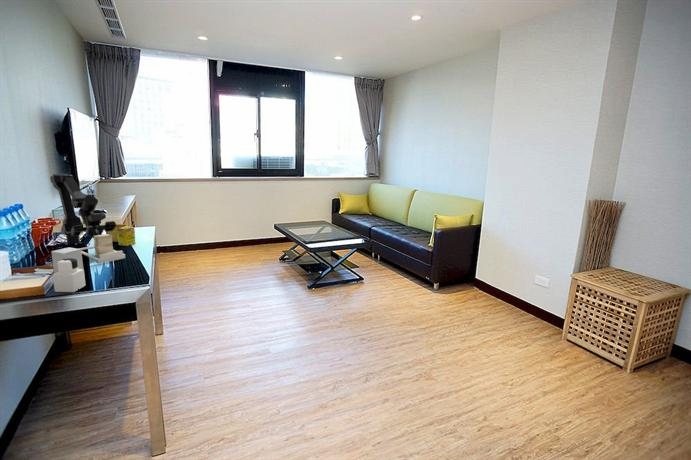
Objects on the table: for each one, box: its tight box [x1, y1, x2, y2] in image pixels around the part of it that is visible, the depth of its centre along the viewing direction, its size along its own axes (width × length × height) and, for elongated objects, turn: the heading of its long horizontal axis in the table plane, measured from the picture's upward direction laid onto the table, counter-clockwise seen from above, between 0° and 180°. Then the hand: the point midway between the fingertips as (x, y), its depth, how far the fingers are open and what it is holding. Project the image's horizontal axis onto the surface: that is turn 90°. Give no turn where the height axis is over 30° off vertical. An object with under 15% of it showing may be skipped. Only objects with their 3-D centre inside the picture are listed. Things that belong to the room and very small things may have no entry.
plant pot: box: [107, 223, 128, 243], centre depth 204 cm, size 10×10×10 cm
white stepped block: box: [52, 258, 87, 293], centre depth 137 cm, size 7×7×12 cm
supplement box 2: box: [117, 225, 136, 247], centre depth 197 cm, size 6×6×11 cm
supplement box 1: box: [50, 246, 84, 274], centre depth 146 cm, size 7×7×13 cm
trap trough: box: [78, 245, 126, 264], centre depth 179 cm, size 26×12×4 cm, turn 57°
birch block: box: [93, 233, 114, 258], centre depth 175 cm, size 5×6×10 cm
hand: (100, 241), depth 177 cm, fingers closed, pressing on birch block
